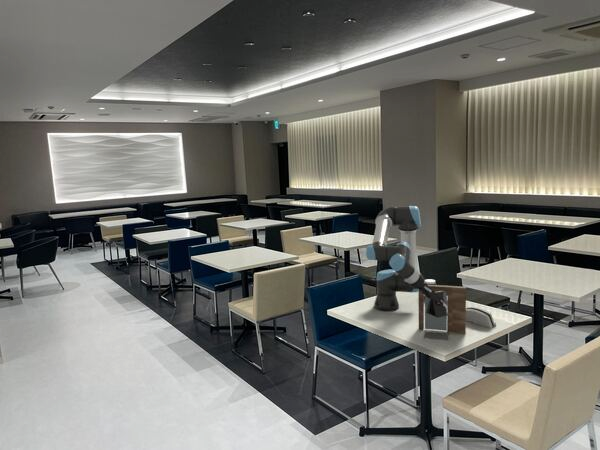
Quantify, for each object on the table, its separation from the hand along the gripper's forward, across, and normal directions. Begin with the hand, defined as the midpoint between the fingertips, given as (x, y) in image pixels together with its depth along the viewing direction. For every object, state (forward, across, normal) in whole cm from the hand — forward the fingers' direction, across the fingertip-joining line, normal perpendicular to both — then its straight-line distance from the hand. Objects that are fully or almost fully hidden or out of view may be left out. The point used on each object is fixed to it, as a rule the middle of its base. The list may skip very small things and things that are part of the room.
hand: (443, 307), depth 228 cm
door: (+10, -6, -10) cm, 16 cm away
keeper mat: (+8, 0, -13) cm, 15 cm away
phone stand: (0, 0, -5) cm, 5 cm away
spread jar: (+31, -58, +9) cm, 67 cm away
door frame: (+12, -5, -9) cm, 16 cm away
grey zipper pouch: (+30, -8, +9) cm, 33 cm away
